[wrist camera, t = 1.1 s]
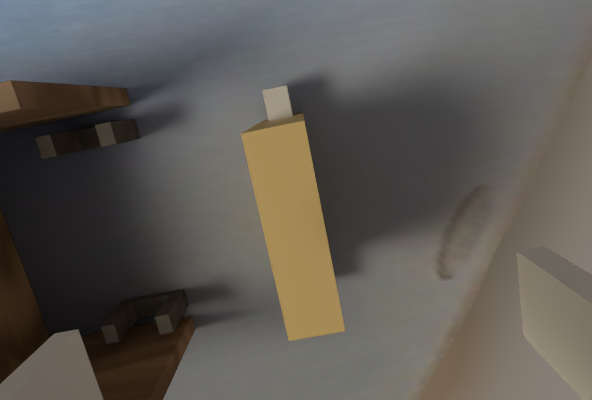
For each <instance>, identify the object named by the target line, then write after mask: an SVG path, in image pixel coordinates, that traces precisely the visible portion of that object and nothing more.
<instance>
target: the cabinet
mask: <svg viewBox="0 0 592 400" xmlns="http://www.w3.org/2000/svg"><path fill="white" fill-rule="evenodd" d="M129 105H131V104H130V101H129V98H128V94H127V91H126V88H116V87H101V86H86V85H71V84H56V83H41V82H26V81H6V82H1V83H0V133H2V132H7V131H11V130H16V129H21V128H25V127H30V126H35V125H40V124H44V123H49V122H54V121H58V120H63V119H68V118H72V117H77V116H82V115H87V114H91V113H96V112H101V111H105V110H110V109H115V108H119V107H124V106H129ZM139 138H140V136H139V132H138V129H137V125H136V122H135V119H131V120H122V121H114V122H107V123H102V124H98V125H95V127H93V128H88V129H83V130H79V131H72V132H65V133H58V134H51V135H46V136H41V137H36V138H35V140H36V143H37V146H38V148H39V151H40V154H41V157H42V159H46V158H51V157H56V156H60V155H64V154H69V153H73V152H77V151H82V150H86V149H91V148H96V147H104V146H109V145H113V144H118V143H122V142H126V141H130V140H135V139H139ZM187 306H188V302H187V299H186V295H185V292H184V289H182V290H176V291H171V292H166V293H160V294H155V295H149V296H144V297H139V298H133V299H128V300H124V301H123V302H122V303H121V304H120V305H119V306H118V307H117V309H116V310H115V311H114V312H113V313H112V314H111V315H110V317H109V318H108V319H107V320H106V321H105V322H104V323H103V324H102V326H101V330H102V332H100V333H94V334H89V335H83V336H81V338H82V341H83V344H84V347H85V350H86V352H87V355H88V358H89V361H90V363H91V366H92V369H93V372H94V375H95V377H96V380H97V383H98V386H99V389H100V391H101V394H102V397H103V400H163V398H164V396H165V394H166V392H167V389H168V387H169V385H170V383H171V381H172V379H173V376H174V374H175V372H176V370H177V368H178V365H179V363H180V361H181V359H182V357H183V355H184V352H185V350H186V348H187V346H188V344H189V342H190V339H191V337H192V335H193V333H194V331H195V326H194V323H193V319H192V316H188V317H183V318H181V317H182V315H183V314H184V312H185V310H186V308H187ZM151 315H156V316H155V320H156V322H155V323H149V324H144V325H138V326H133V327H131V326H132V325H133V323H134V322H135V321H136V319H137V318H140V317H145V316H151ZM49 338H50V336H49V333H48V331H47V328H46V326H45V323H44V320H43V318H42V315H41V312H40V310H39V307H38V305H37V302H36V299H35V297H34V294H33V292H32V289H31V286H30V284H29V281H28V278H27V276H26V273H25V271H24V268H23V265H22V263H21V260H20V257H19V255H18V252H17V250H16V247H15V244H14V242H13V239H12V237H11V234H10V231H9V229H8V226H7V223H6V221H5V218H4V216H3V213H2V210H1V208H0V384H1V383H2V382H3V381H4V380H5V379H6V378H7V377H8V376H9V375H11V374H12V373H13V372H14V371H15V370H16V369H17V368H18V367H19V366H20V365H21V364H22V363H23V362H24V361H26V360H27V359H28V358H29V357H30V356H31V355H32V354H33V353H34V352H35V351H36V350H37V349H38V348H39V347H40V346H42V345H43V344H44V343H45V342H46V341H47V340H48V339H49Z"/></svg>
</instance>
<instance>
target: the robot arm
mask: <svg viewBox="0 0 592 400" xmlns="http://www.w3.org/2000/svg"><path fill="white" fill-rule="evenodd" d="M516 253H517V265H518V277H519V288H520V301H521V312H522V324H523V336H524V337H525V338H526V340H527V341H528V342H529V343H530V344H531V345H532V346H533V347H534V348H535V349H536V350H537V351H538V352H539V353H540V355H541V356H542V357H543V358H544V359H545V360H546V361H547V362H548V363H549V364H550V365H551V366H552V367H553V368H554V370H555V371H557V373H558V374H559V375H560V376H561V377H562V378H563V379H564V380H565V381H566V382H567V383H568V384H569V385H570V387H571V388H572V389H573V390H574V391H575V392H576V393H577V394H578V395H579V396H580V397H581V398H582V399H583V400H592V275H591V274H589V273H588V272H586V271H584V270H583V269H581V268H579V267H578V266H576V265H574V264H573V263H571V262H569V261H568V260H566V259H564V258H563V257H561V256H559V255H558V254H556V253H555V252H553V251H551V250H550V249H548V248H546V247H544V246H541V247H536V248H530V249H524V250H519V251H516ZM0 400H103V397H102V394H101V391H100V389H99V386H98V383H97V380H96V377H95V375H94V372H93V369H92V366H91V363H90V361H89V358H88V355H87V352H86V350H85V347H84V344H83V341H82V338H81V336H80V333H79V330H78V329H77V330H71V331H65V332H60V333H54V334H53V335H52V336H51V337H50V338H49V339H48V340H47V341H46V342H45V343H44V344H43V345H42V346H40V347H39V348H38V349H37V350H36V351H35V352H34V353H33V354H32V355H31V356H30V357H29V358H28V359H27V360H26V361H24V362H23V363H22V364H21V365H20V366H19V367H18V368H17V369H16V370H15V371H14V372H13V373H12V374H11V375H9V376H8V377H7V378H6V379H5V380H4V381H3V382H2V383H1V384H0Z"/></svg>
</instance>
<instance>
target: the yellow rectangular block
mask: <svg viewBox="0 0 592 400" xmlns="http://www.w3.org/2000/svg"><path fill="white" fill-rule="evenodd" d="M262 92H263V96H264V101H265V106H266V110H267V115H268V120H267V121H262V122H261V123H259V124H257V125H255V126H253V127H252V128H250V129H248V130H246V131H245V132H243V133H241V136H242V141H243V145H244V149H245V154H246V158H247V162H248V167H249V171H250V175H251V179H252V184H253V188H254V192H255V197H256V201H257V205H258V210H259V214H260V218H261V223H262V227H263V231H264V236H265V240H266V244H267V249H268V253H269V257H270V262H271V266H272V270H273V274H274V279H275V283H276V287H277V292H278V296H279V300H280V305H281V309H282V313H283V318H284V322H285V326H286V331H287V335H288V339H289V341H291V340H297V339H303V338H308V337H314V336H320V335H325V334H331V333H337V332H343V331H345V327H344V322H343V317H342V312H341V306H340V301H339V296H338V291H337V286H336V280H335V275H334V270H333V265H332V259H331V254H330V249H329V244H328V239H327V234H326V229H325V223H324V218H323V213H322V208H321V203H320V198H319V193H318V187H317V182H316V177H315V172H314V167H313V162H312V157H311V151H310V146H309V141H308V136H307V131H306V126H305V121H304V115H303V113H301V114H296V115H293V112H292V107H291V102H290V97H289V92H288V87H287V86H282V87H277V88H272V89H268V90H263V91H262Z"/></svg>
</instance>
